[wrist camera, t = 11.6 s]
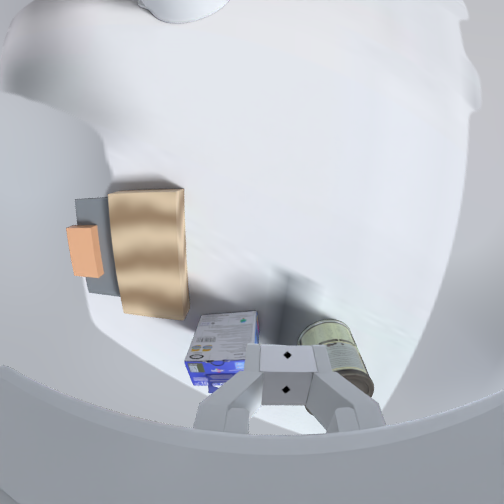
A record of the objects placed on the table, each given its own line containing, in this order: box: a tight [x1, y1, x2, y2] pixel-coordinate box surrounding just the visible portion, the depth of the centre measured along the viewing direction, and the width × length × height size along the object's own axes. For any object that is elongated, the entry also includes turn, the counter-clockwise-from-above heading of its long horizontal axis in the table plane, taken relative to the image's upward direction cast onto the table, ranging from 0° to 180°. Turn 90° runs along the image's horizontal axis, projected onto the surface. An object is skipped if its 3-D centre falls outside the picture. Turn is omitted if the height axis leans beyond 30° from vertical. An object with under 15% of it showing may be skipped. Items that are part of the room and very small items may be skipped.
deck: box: [108, 189, 190, 321], centre depth 41 cm, size 20×11×4 cm, turn 178°
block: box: [66, 225, 104, 278], centre depth 42 cm, size 9×6×2 cm, turn 179°
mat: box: [75, 197, 121, 297], centre depth 43 cm, size 18×10×1 cm, turn 178°
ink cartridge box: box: [185, 311, 260, 393], centre depth 39 cm, size 10×6×14 cm, turn 98°
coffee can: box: [297, 319, 374, 415], centre depth 40 cm, size 10×10×14 cm
